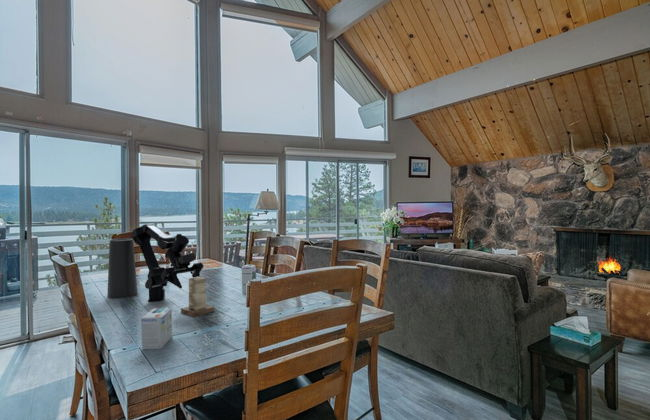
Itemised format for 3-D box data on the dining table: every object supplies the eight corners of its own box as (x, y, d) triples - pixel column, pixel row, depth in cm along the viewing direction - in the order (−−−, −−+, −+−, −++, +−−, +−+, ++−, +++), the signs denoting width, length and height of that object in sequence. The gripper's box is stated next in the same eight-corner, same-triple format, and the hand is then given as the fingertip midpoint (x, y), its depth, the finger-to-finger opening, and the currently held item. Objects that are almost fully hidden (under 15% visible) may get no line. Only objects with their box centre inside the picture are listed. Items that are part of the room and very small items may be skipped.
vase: (101, 297, 184) (99, 240, 183) (124, 290, 197) (123, 237, 196) (120, 299, 179) (119, 241, 178) (143, 293, 192) (142, 238, 191)
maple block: (188, 308, 158) (188, 278, 158) (198, 305, 162) (198, 276, 162) (196, 310, 155) (196, 279, 155) (205, 307, 159) (205, 277, 159)
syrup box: (252, 294, 188) (252, 266, 188) (241, 293, 189) (241, 266, 189) (256, 291, 194) (256, 264, 193) (246, 291, 195) (245, 264, 194)
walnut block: (180, 314, 158) (180, 308, 158) (200, 308, 166) (200, 303, 166) (194, 318, 152) (194, 312, 152) (214, 312, 160) (214, 306, 160)
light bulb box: (153, 337, 129) (152, 307, 129) (172, 337, 130) (172, 307, 130) (140, 350, 119) (140, 317, 118) (162, 349, 119) (161, 316, 119)
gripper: (164, 250, 156) (178, 278, 150) (201, 245, 172) (216, 271, 165) (154, 266, 161) (168, 294, 155) (191, 260, 176) (205, 285, 170)
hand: (190, 285), depth 161 cm, fingers open, 9 cm apart
